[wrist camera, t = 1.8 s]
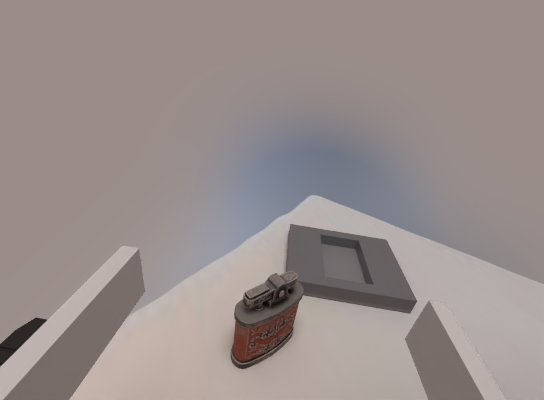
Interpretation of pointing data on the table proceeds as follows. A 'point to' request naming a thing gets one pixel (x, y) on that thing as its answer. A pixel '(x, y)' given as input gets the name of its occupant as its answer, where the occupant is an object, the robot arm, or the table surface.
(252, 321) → the lighter
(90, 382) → the table surface
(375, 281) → the dock
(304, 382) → the table surface
